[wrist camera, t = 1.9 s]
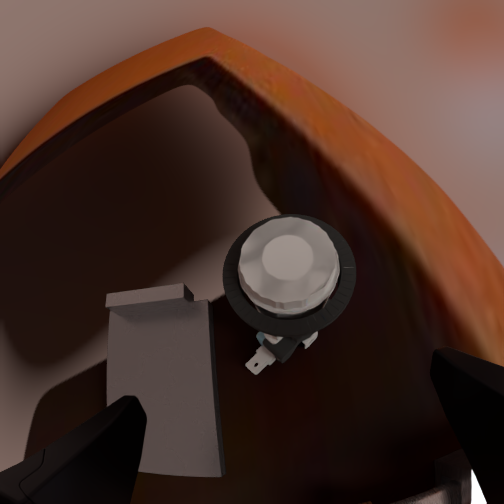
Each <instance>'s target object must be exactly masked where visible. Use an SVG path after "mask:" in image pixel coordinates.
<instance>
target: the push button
mask: <svg viewBox="0 0 504 504" xmlns="http://www.w3.org/2000/svg"><path fill="white" fill-rule="evenodd" d="M337 280H338V290H337V292H336V294H335V295H334V297H333V298H332V300H330V299H329V296H330V294H331V292H332V291H333V289H334V287H335V285H336V282H337ZM355 281H356V265H355V260H354V256H353V253H352V251H351V249H350V247H349V245H348V243H347V242H346V241H345V239H344V238H343V237H342V236H341V235H340V233H339V232H337V231H336V230H335V229H334V228H333V227H331V226H330V225H328V224H326V223H325V222H323V221H320V220H318V219H316V218H313V217H309V216H304V215H296V214H286V215H279V216H274V217H270V218H267V219H264V220H262V221H260V222H258V223H256V224H254V225H252V226H251V227H249V228H248V229H247V230H245V231H244V232H243V233H242V234H241V235H240V236H239V237H238V238H237V239H236V241H235V242H234V243H233V245H232V246H231V248H230V250H229V252H228V254H227V256H226V259H225V262H224V267H223V286H224V290H225V294H226V296H227V299H228V301H229V303H230V305H231V306H232V308H233V309H234V311H235V312H236V313H237V315H238V316H239V317H240V318H241V319H242V320H243V321H244V322H245V323H247V324H248V325H249V326H251V327H252V328H254V329H256V330H258V331H260V332H259V333H258V334H257V335H256V338H257V339H258V341H259V342H260V344H261V345H262V346H261V347H260V348H259V349H257V350H256V352H257V354H256V355H255V356H254V357H252V358H251V359H250V360H249V361H248V362H247V363H246V367H247V368H248V369H249V370H250V371H251V372H252V373H254V374H255V375H257V374H258V373H259V372H260V371H261V370H262V369H263V368H264V367H265V366H266V365H267V364H269V365H271V364H272V363H273V362H274V361H275V360H276V359H277V360H278V361H279V362H281V363H284V362H285V361H286V360H287V359H288V358H289V357H290V356H291V355H292V353H293V352H294V350H295V348H296V347H297V346H298V344H299V343H300V342H303V343H304V344H305V349H306V348H307V347H308V346H309V345H310V344H311V343H312V342H313V341H314V340H315V339H316V338H317V334H318V332H317V331H319V330H321V329H323V328H324V327H326V326H327V325H329V324H330V323H332V322H333V321H334V320H335V319H336V318H337V317H338V316H339V315H340V314H341V313H342V312H343V310H344V309H345V307H346V306H347V304H348V302H349V300H350V298H351V296H352V293H353V290H354V286H355ZM244 291H245V293H246V294H247V295H248V297H249V298H250V299H251V301H252V302H254V304H255V306H256V308H257V310H258V311H257V310H255V309H254V308H253V307H252V306H251V305H250V304H249V303H248V302H247V301H246V300H245V296H244ZM255 363H258V366H257V367H254V365H255Z"/></svg>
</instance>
